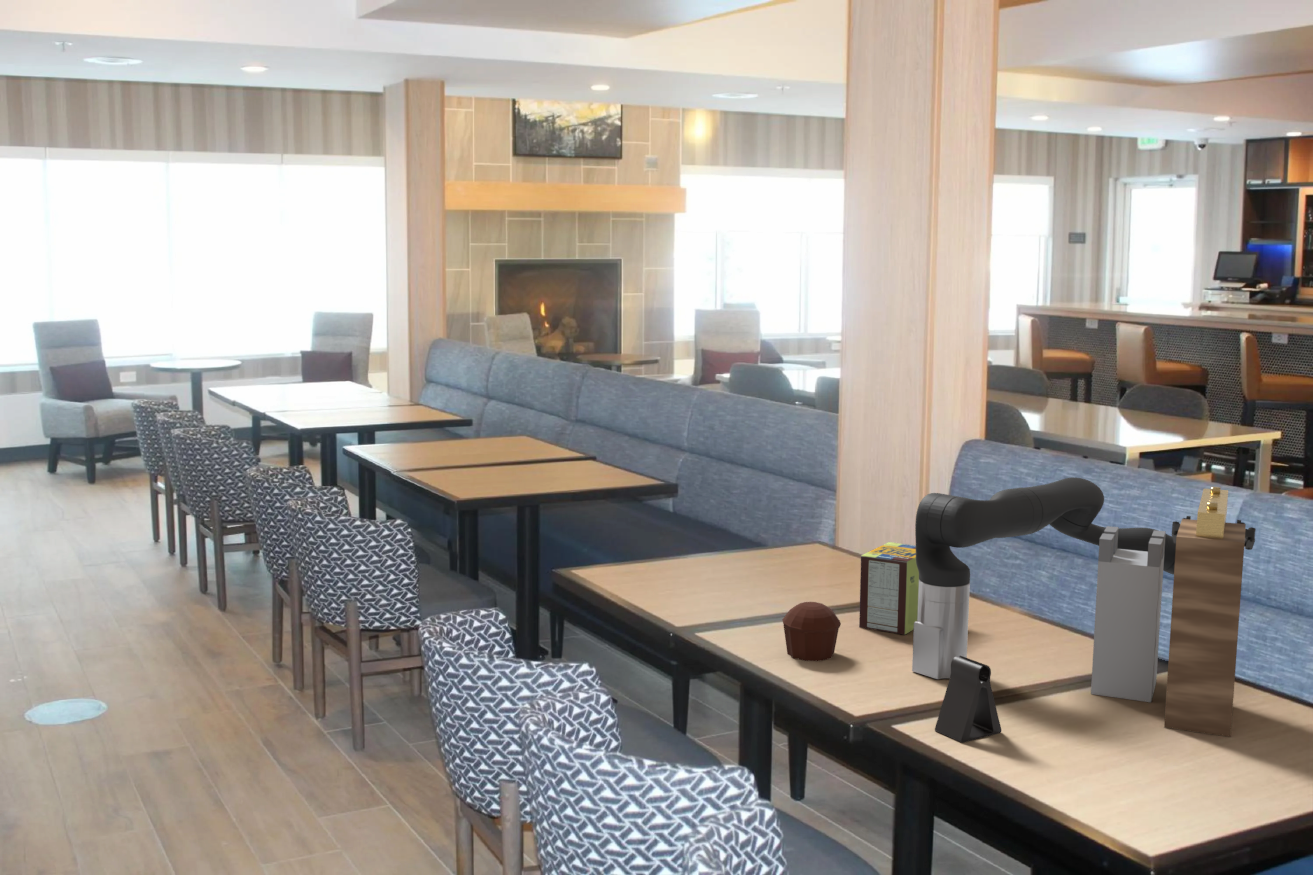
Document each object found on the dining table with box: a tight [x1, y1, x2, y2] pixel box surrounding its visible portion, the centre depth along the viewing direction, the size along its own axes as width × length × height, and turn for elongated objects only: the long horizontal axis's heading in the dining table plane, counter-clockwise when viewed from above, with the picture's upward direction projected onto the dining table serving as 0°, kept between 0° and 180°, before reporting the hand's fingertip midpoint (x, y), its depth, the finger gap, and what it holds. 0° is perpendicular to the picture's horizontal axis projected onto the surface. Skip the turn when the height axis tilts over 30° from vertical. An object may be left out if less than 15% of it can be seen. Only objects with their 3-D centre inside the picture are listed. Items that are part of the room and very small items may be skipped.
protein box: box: [858, 541, 919, 636], centre depth 272 cm, size 10×15×16 cm
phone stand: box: [934, 656, 1002, 744], centre depth 210 cm, size 9×6×12 cm, turn 121°
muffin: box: [781, 601, 842, 662], centre depth 251 cm, size 12×11×10 cm
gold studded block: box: [1196, 486, 1229, 539], centre depth 219 cm, size 24×4×5 cm, turn 155°
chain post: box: [1090, 525, 1167, 703], centre depth 231 cm, size 12×10×28 cm
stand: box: [1164, 518, 1247, 738], centre depth 216 cm, size 16×10×32 cm, turn 155°
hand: (1213, 522), depth 237 cm, fingers open, 8 cm apart
